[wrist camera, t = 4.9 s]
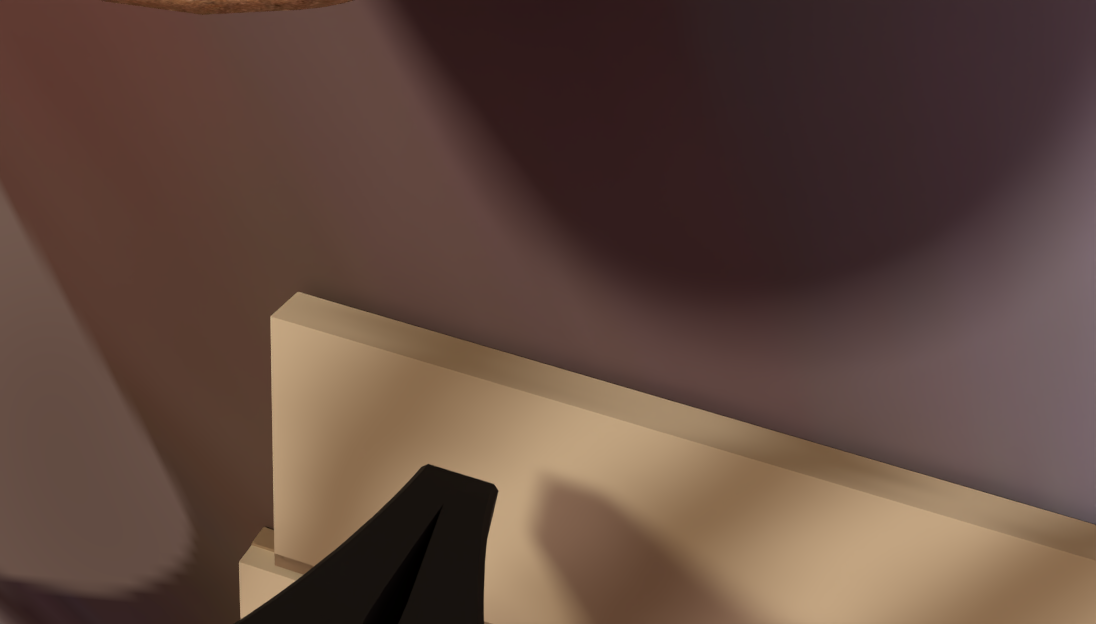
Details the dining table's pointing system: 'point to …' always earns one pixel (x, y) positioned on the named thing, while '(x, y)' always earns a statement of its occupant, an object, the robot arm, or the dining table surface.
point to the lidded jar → (229, 5)
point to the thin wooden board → (261, 574)
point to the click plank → (640, 495)
